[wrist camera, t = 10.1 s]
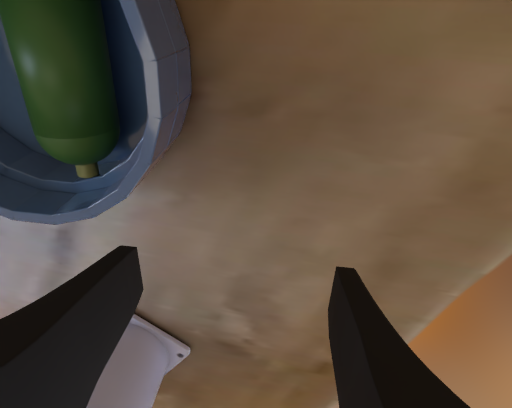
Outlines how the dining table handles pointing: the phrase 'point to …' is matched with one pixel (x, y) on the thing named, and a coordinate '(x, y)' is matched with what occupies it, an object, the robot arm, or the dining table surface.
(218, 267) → the dining table surface
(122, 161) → the bowl
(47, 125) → the zucchini
